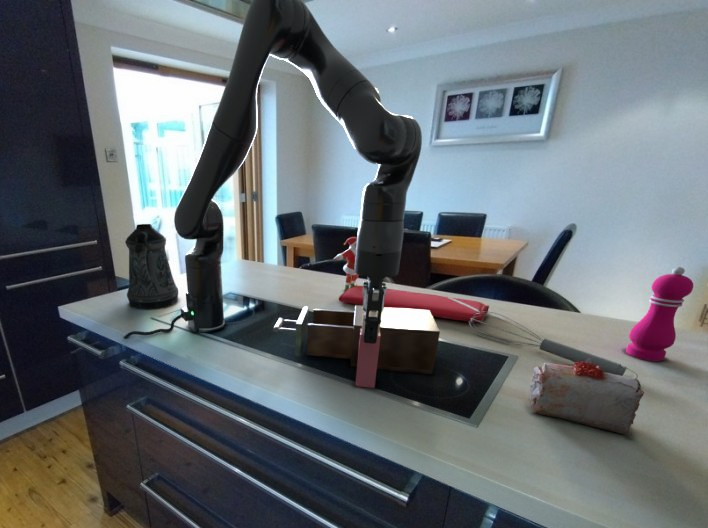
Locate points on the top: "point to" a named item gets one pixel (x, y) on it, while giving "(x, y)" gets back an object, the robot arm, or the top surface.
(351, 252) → the santa figurine
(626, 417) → the food item
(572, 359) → the kitchen whisk
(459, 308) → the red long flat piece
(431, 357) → the cabinet
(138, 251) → the beer stein
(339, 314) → the drawer
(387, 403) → the top surface
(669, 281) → the pepper mill
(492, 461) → the top surface
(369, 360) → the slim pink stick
